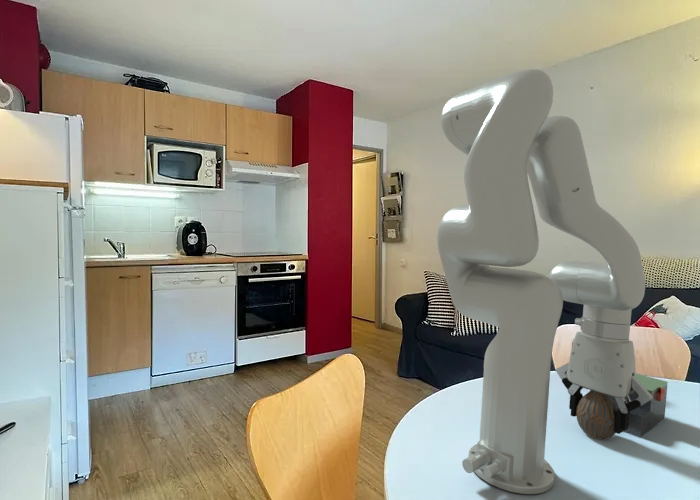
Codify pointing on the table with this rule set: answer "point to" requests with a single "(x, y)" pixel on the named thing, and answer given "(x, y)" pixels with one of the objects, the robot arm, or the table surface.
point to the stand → (647, 406)
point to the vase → (597, 415)
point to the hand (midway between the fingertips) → (597, 422)
